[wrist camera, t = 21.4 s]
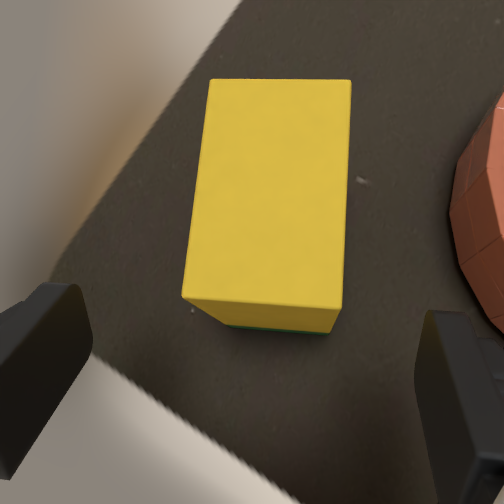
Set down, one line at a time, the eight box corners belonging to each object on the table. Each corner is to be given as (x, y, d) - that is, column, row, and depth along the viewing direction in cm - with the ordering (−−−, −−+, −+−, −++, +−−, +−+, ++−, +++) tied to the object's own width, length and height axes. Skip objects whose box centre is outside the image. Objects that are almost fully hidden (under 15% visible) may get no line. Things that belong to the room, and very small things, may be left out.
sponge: (228, 327, 20) (180, 297, 13) (243, 181, 22) (209, 77, 14) (329, 336, 20) (342, 309, 12) (336, 184, 21) (352, 78, 14)
